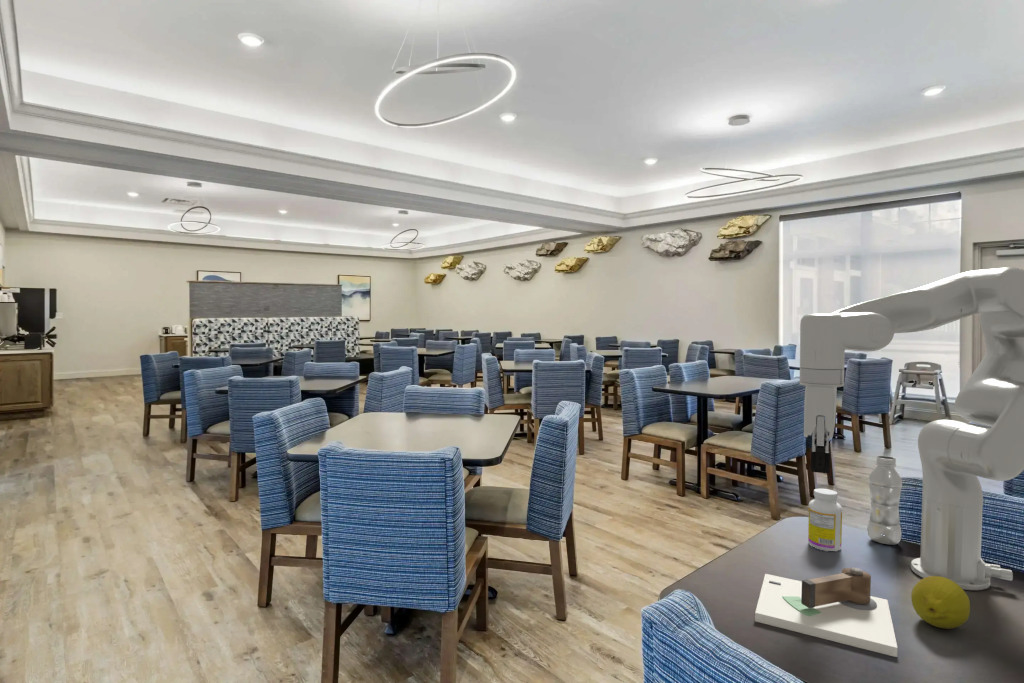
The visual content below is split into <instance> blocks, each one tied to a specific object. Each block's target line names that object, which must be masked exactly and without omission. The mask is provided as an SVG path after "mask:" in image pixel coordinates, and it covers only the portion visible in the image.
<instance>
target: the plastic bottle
mask: <svg viewBox="0 0 1024 683" xmlns="http://www.w3.org/2000/svg"><path fill="white" fill-rule="evenodd" d="M875 460H876V461H875V465H876V467H875V468H874V469H873V470H872V471H871V472H870V473H869V476H868V478H867V479H868V487H869V492H870V509H869V510H870V511H869V520H868V521H867V527H866V530H867V535H868V537H869V538H870V540H872V541H874V542H876V543H879V544H882V545H897V544H899V542H901V539H902V534H903V533H902V529H901V524H900V514H899V512H900V511H899V510H900V509H899V508H900V507H899V506H900V498H901V493H902V488H903V480H902V477H901V476H900V474H899V473H898V471H897V470H896V467H897V459H896V458H895V457H893V456H890V455H889V456H886V455H876V459H875ZM881 534H882V535H881ZM883 535H885V536H883Z"/></svg>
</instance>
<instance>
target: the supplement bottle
mask: <svg viewBox="0 0 1024 683" xmlns="http://www.w3.org/2000/svg"><path fill="white" fill-rule="evenodd" d="M813 496H814V499H811V500H810V501H809V502H808V523H807V524H808V526H807V527H808V530H807V531H808V533H807V534H808V538H807V539H808V541H807V542H808V544H809V545H810V546H811V547H812V546H813V547H815V548H814V549H816V548H818V549H821V550H820V551H822V550H825V551H824V552H828V551H835V552H839V551H840V550H841V549H842V542H843V541H842V537H843V536H842V535H843V534H842V533H843V527H842V526H843V507H842V505H841V504H840V503H839V502H838V501H837V500H838V492H837V491H836V490H832V489H830V488H829V489H828V488H815V489H813ZM813 547H812V548H813ZM818 549H817V550H818ZM838 550H839V551H838Z"/></svg>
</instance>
